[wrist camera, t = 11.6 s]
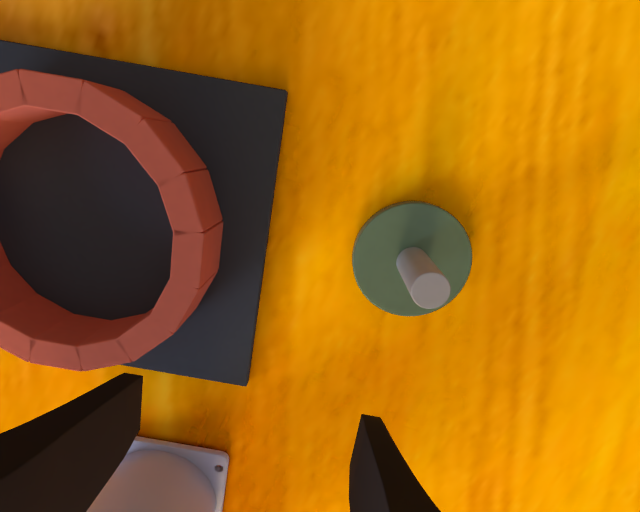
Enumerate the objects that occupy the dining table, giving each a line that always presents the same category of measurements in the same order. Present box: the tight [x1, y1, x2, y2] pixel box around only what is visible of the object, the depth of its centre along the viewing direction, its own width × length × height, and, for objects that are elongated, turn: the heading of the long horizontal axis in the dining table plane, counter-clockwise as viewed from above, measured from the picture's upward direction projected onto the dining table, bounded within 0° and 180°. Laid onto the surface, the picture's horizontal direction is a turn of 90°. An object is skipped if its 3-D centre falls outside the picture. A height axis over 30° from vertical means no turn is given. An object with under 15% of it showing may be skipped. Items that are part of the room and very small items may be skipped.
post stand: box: [352, 201, 472, 316], centre depth 18 cm, size 6×6×5 cm
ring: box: [0, 69, 223, 371], centre depth 19 cm, size 13×13×3 cm
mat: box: [0, 40, 288, 386], centre depth 21 cm, size 16×17×1 cm
